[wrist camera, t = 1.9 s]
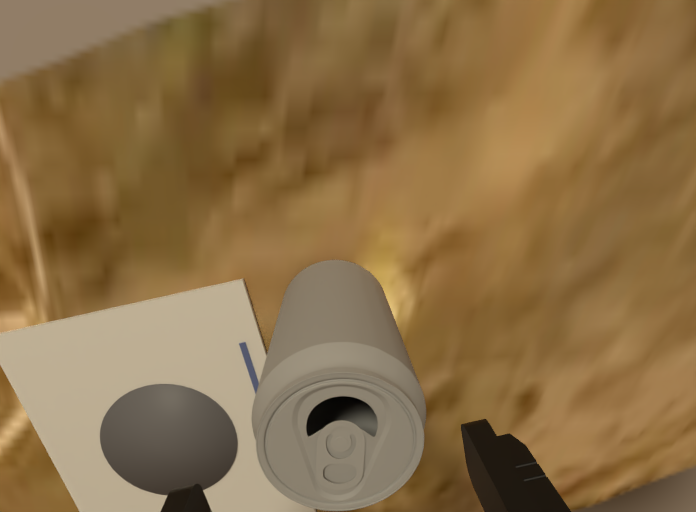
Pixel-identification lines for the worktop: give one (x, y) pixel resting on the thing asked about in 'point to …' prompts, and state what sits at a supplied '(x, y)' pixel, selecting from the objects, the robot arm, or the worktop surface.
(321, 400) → the beverage can
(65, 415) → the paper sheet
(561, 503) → the robot arm
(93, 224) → the worktop surface
